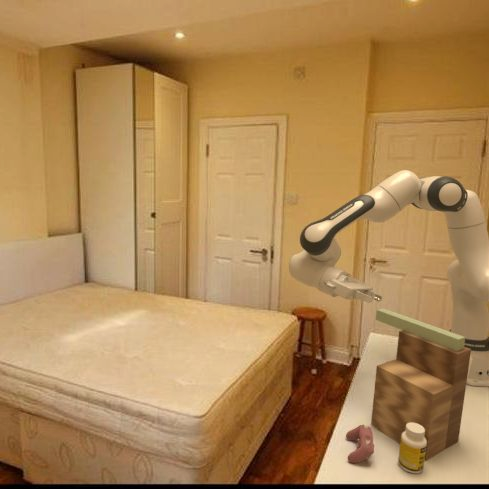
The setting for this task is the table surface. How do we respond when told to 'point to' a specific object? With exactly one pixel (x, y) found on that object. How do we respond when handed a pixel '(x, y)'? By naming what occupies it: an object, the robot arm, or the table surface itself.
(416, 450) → the supplement bottle
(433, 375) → the pedestal
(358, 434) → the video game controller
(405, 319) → the bar
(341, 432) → the table surface
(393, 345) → the table surface
